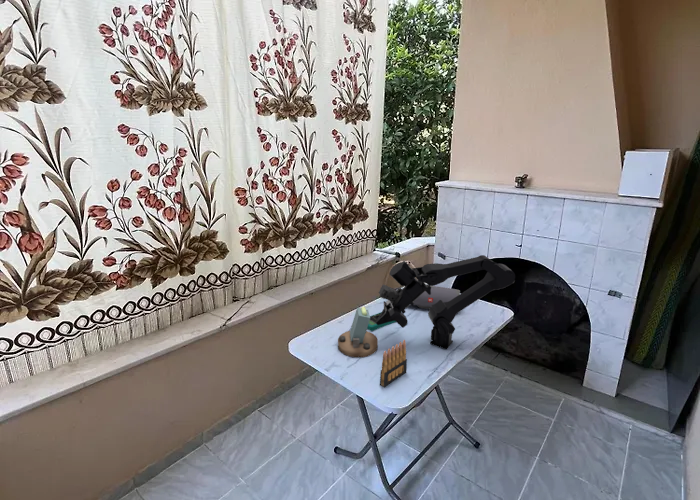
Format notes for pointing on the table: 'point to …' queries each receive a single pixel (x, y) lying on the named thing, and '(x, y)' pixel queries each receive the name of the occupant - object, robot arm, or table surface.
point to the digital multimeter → (372, 322)
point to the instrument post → (360, 324)
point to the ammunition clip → (393, 364)
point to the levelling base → (357, 345)
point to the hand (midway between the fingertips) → (376, 323)
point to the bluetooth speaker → (436, 296)
